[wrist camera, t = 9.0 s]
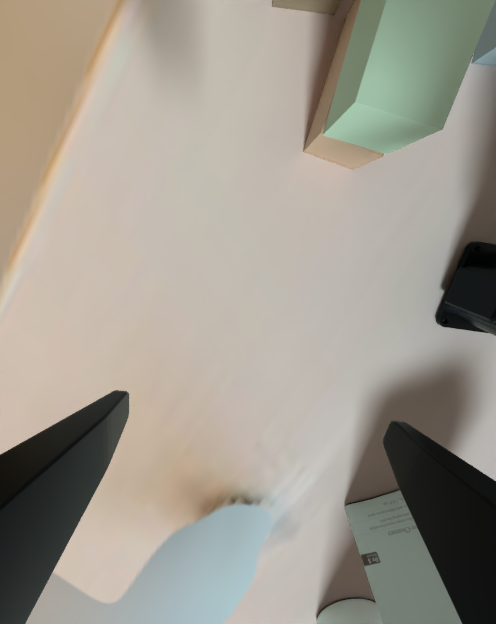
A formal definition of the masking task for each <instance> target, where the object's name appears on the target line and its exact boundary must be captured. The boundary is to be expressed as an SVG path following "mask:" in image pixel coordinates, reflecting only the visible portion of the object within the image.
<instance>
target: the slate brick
mask: <svg viewBox="0 0 496 624" xmlns="http://www.w3.org/2000/svg"><path fill="white" fill-rule="evenodd" d="M472 64H481V65H493V66H496V0H495V2H494V5H493V7H492V9H491V12H490V14H489V17H488V19H487V22H486V24H485V27H484V29H483V31H482V34H481V36H480V39H479V41H478V44H477V46H476V49H475V52H474V56H473V60H472Z"/></svg>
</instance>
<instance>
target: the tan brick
mask: <svg viewBox="0 0 496 624" xmlns="http://www.w3.org/2000/svg"><path fill="white" fill-rule="evenodd" d="M360 2H361V0H355V1H354V3H353V5H352V7H351V9H350V10H349V12H348V14H347V17H346V20H345V23H344V26H343V29H342V32H341V36H340V39H339V42H338V45H337V48H336V51H335V54H334V57H333V60H332V64H331V67H330V70H329V73H328V76H327V79H326V82H325V85H324V88H323V91H322V95H321V98H320V101H319V104H318V107H317V110H316V113H315V116H314V119H313V123H312V126H311V129H310V132H309V135H308V138H307V141H306V144H305V147H304V151H303V152H305V153H307V154H310V155H313V156H316V157H318V158H321V159H324V160H327V161H330V162H332V163H335V164H338V165H341V166H343V167H346V168H349V169H352V170H353V169H355V168H358V167H360V166H362V165H365V164H367V163H369V162H371V161H374V160H376V159H378V158H381V157H383V156H384V153H381V152H377V151H374V150H370V149H367V148H364V147H360V146H357V145H354V144H350V143H347V142H343V141H340V140H337V139H333V138H330V137H326V136H323V132H324V129H325V125H326V122H327V118H328V115H329V111H330V108H331V104H332V101H333V97H334V94H335V90H336V87H337V83H338V79H339V76H340V72H341V69H342V65H343V62H344V58H345V55H346V51H347V48H348V44H349V41H350V37H351V34H352V30H353V27H354V23H355V20H356V16H357V13H358V9H359V6H360Z"/></svg>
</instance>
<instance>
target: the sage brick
mask: <svg viewBox="0 0 496 624" xmlns="http://www.w3.org/2000/svg"><path fill="white" fill-rule="evenodd" d="M494 2H495V0H361V2H360V6H359V9H358V13H357V16H356V20H355V23H354V27H353V30H352V34H351V37H350V41H349V44H348V48H347V51H346V55H345V58H344V62H343V65H342V69H341V72H340V76H339V79H338V83H337V87H336V90H335V94H334V97H333V101H332V104H331V108H330V111H329V115H328V118H327V122H326V125H325V129H324V132H323V136H326V137H330V138H333V139H337V140H340V141H343V142H347V143H350V144H354V145H357V146H360V147H364V148H367V149H370V150H374V151H377V152H381V153H384V154H388V153H390V152H393V151H395V150H397V149H399V148H402V147H404V146H406V145H408V144H411V143H413V142H415V141H417V140H419V139H422V138H424V137H426V136H428V135H431V134H433V133H435V132H437V131H440V130H442V129H443V127H444V124H445V122H446V120H447V117H448V115H449V112H450V110H451V107H452V105H453V102H454V100H455V98H456V95H457V93H458V90H459V88H460V85H461V83H462V80H463V78H464V76H465V73H466V71H467V68H468V66H469V63H470V61H471V58H472V56H473V53H474V51H475V49H476V46H477V44H478V41H479V39H480V36H481V34H482V31H483V29H484V27H485V24H486V22H487V19H488V17H489V14H490V12H491V9H492V7H493V5H494Z"/></svg>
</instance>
